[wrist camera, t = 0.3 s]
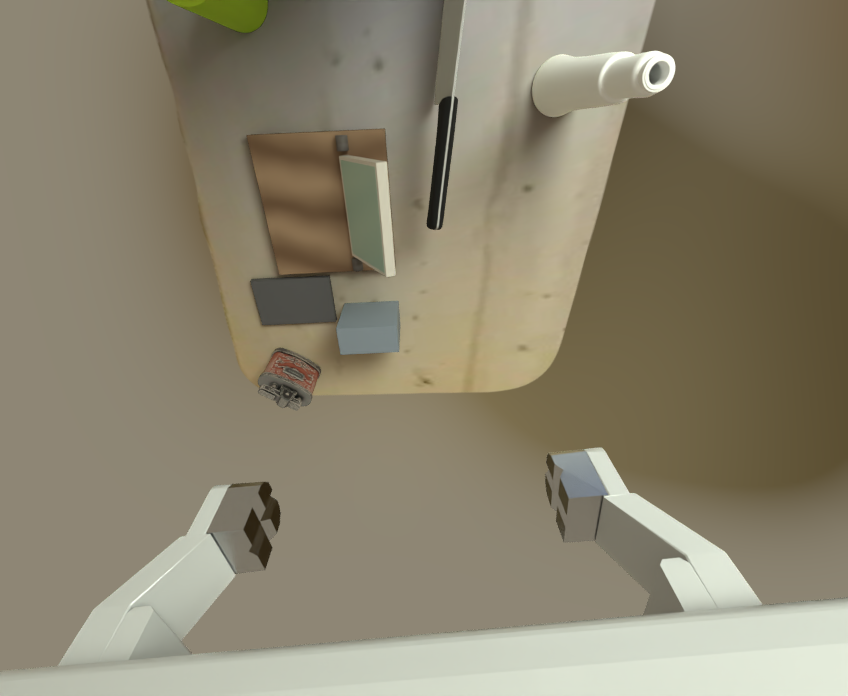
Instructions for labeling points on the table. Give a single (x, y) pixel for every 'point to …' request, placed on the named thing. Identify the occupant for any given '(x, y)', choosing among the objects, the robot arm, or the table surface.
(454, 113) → the kitchen cleaver
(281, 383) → the lighter
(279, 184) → the hinge board
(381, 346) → the grey rectangular prism
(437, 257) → the table surface
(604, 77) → the cosmetic bottle
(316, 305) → the pad
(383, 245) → the tile
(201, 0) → the soap dispenser
